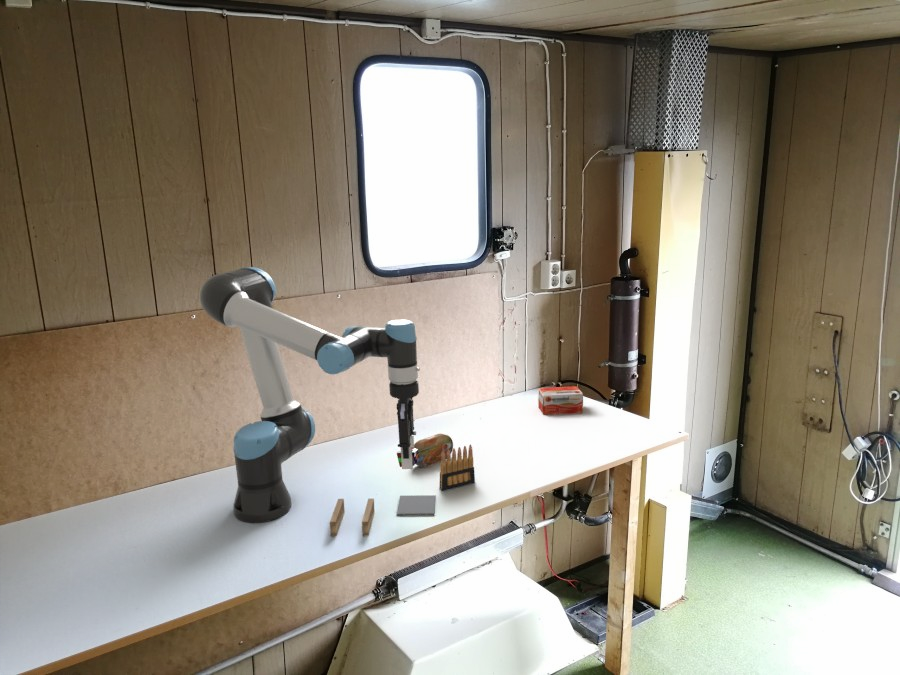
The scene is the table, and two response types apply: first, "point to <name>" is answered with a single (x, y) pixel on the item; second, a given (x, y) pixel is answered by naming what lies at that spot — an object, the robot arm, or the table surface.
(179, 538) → the table surface
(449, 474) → the ammunition clip
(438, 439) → the tin
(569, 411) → the medicine box
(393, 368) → the robot arm
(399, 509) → the rubber pad
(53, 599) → the table surface
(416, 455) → the rubik's cube
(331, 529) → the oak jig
